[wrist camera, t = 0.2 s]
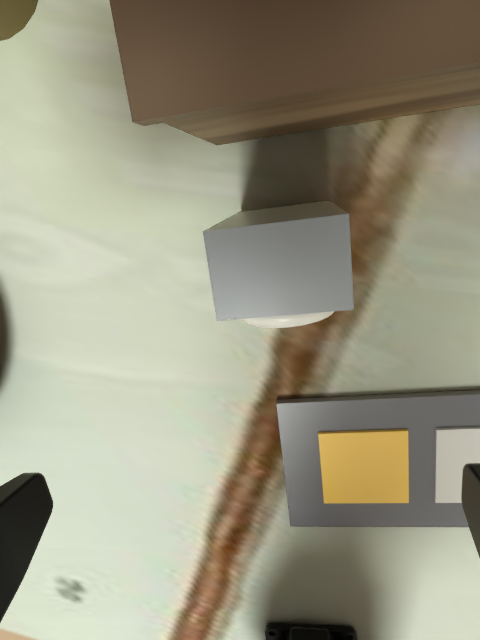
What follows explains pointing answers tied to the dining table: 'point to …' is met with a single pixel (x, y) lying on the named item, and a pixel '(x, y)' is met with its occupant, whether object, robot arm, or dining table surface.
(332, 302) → the button
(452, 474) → the card
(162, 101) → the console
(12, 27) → the cork
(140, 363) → the dining table surface
